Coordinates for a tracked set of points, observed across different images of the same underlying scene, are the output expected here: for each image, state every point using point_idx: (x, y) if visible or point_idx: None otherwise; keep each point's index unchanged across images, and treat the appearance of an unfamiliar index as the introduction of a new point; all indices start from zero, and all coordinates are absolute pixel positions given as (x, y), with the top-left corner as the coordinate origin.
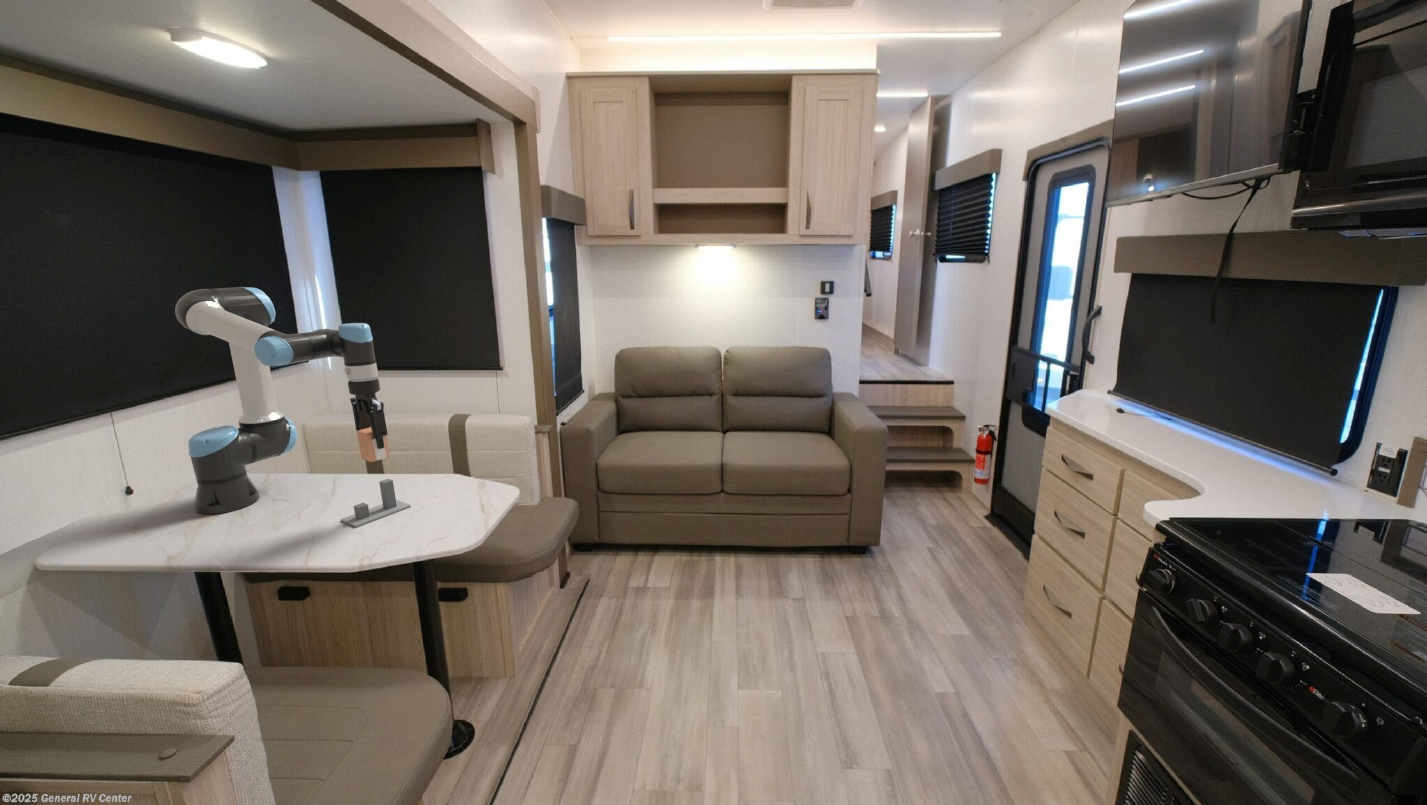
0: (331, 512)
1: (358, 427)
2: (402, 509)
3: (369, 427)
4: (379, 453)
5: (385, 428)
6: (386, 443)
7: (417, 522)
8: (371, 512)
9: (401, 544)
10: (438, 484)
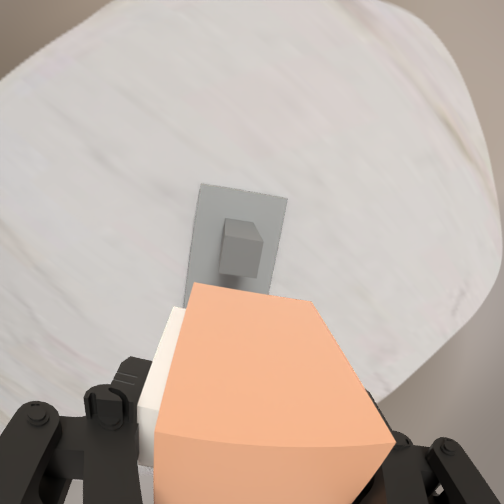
0: (102, 308)
1: (66, 487)
2: (281, 225)
3: (154, 477)
4: None
5: (477, 484)
6: (339, 354)
7: (376, 263)
8: (219, 284)
9: (410, 346)
10: (217, 31)
